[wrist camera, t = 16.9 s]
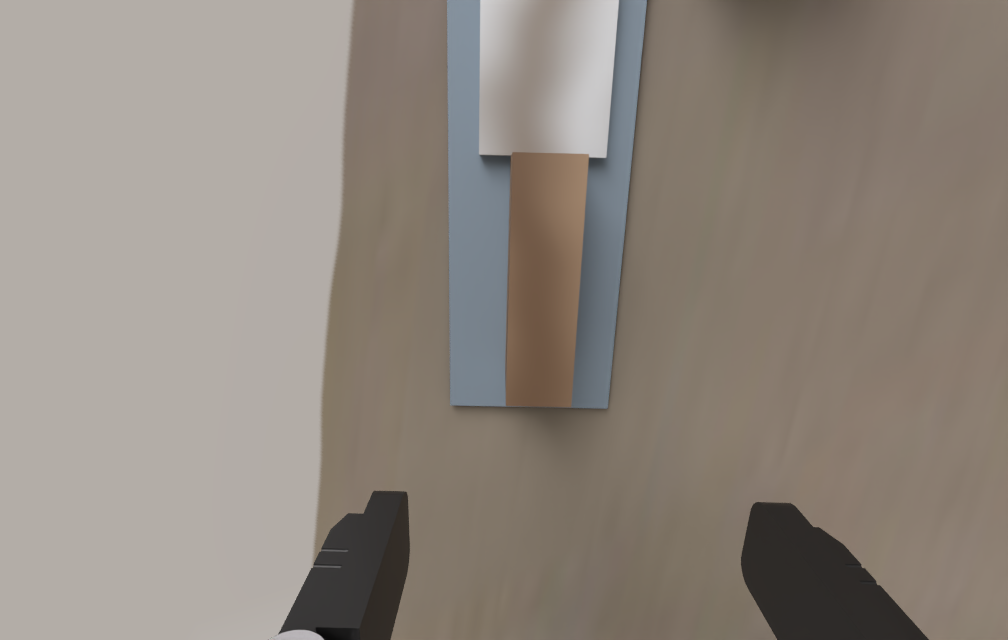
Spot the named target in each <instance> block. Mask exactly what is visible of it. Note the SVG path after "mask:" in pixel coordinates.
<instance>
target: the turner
mask: <svg viewBox="0 0 1008 640" xmlns="http://www.w3.org/2000/svg"><path fill="white" fill-rule="evenodd" d="M618 6H619V0H480V100H479V155H492V156H511V159H510V197H509V235H508V273H507V312H506V350H505V388H506V406H530V407H571V403H572V389H573V375H574V361H575V347H576V332H577V318H578V304H579V290H580V276H581V262H582V247H583V233H584V219H585V205H586V191H587V176H588V162H589V158H606V156H607V143H608V131H609V118H610V106H611V94H612V81H613V69H614V56H615V44H616V31H617V19H618Z"/></svg>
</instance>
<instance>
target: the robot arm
mask: <svg viewBox="0 0 1008 640" xmlns="http://www.w3.org/2000/svg"><path fill="white" fill-rule="evenodd" d="M409 553H410V541H409V514H408V496H407V492H401V491H374V492H373V493H372V495H371V498H370V500H369V502H368V505H367V507H366V509H365V512H364V514H351V513H348V514H347V515H346V516H345V517H344V518H343V519H342V520H340V521H339V522H338V523H337V524H336V525H335V526H334V527H333V528H332V529H331V530H330V532H329V534H328V536H327V538H326V540H325V542H324V544H323V546H322V549H321V552H319V554H318V556H317V558H316V560H315V562H314V566H313V568H311V570H310V572H309V574H308V576H307V578H306V580H305V582H304V584H303V586H302V588H301V590H300V592H299V594H298V596H297V598H296V600H295V603H294V605H293V607H292V608H291V611H290V613H289V615H288V616H287V619H286V620H285V623H284V625H283V627H282V629H281V631H280V632H279V634H278V635H276V636H274V637H272V638H270V639H268V640H390V639H391V635H392V631H393V627H394V623H395V619H396V615H397V612H398V608H399V604H400V600H401V596H402V592H403V588H404V584H405V580H406V576H407V571H408V564H409ZM741 567H742V573H743V577H744V580H745V583H746V585H747V587H748V589H749V591H750V593H751V594H752V596H753V598H754V600H755V601H756V603H757V605H758V607H759V608H760V610H761V612H762V614H763V615H764V617H765V619H766V620H767V622H768V624H769V626H770V627H771V629H772V631H773V633H774V634H775V636H776V638H777V640H929V639H928V638H927V637H926V636H925V635H924V634H923V633H922V632H921V630H920V629H919V628H918V627H917V626H916V625H915V624H914V623H913V622H912V620H911V619H910V618H909V617H908V616H907V615H906V614H905V613H904V612H903V610H902V609H901V608H900V607H899V606H898V605H897V604H896V603H895V601H894V600H893V599H892V598H891V597H890V596H889V595H888V594H887V593H886V591H885V590H884V589H883V588H882V587H881V586H880V585H877V584H876V580H875V579H874V578H873V577H872V576H871V575H870V574H869V573H868V571H867V570H866V569H865V568H862V567H861V564H860V563H859V561H858V560H857V559H856V558H855V557H854V556H853V555H852V554H851V552H850V551H849V550H848V549H847V548H846V547H845V546H844V545H843V544H842V543H840V542H839V541H838V540H836V539H835V538H833V537H832V536H830V535H829V534H828V533H826V532H825V531H823V530H822V529H820V528H819V527H813V526H812V525H811V524H810V523H809V522H808V520H807V519H806V518H805V517H804V516H803V515H802V513H801V512H800V511H799V510H798V509H797V508H796V507H795V506H794V505H793V504H791V503H766V502H756V503H755V504H753V506H752V508H751V511H750V516H749V521H748V526H747V531H746V536H745V541H744V546H743V551H742V556H741Z"/></svg>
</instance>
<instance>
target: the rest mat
mask: <svg viewBox="0 0 1008 640" xmlns="http://www.w3.org/2000/svg"><path fill="white" fill-rule="evenodd" d="M646 5H647V0H619V6H618V19H617V31H616V44H615V56H614V69H613V81H612V94H611V106H610V118H609V131H608V143H607V156H606V158H589V162H588V176H587V191H586V205H585V219H584V233H583V247H582V262H581V276H580V290H579V304H578V318H577V332H576V347H575V361H574V375H573V389H572V403H571V407H555V408H602V409H608V400H609V390H610V379H611V369H612V358H613V348H614V338H615V327H616V317H617V306H618V296H619V286H620V275H621V265H622V255H623V244H624V234H625V223H626V213H627V203H628V192H629V182H630V171H631V161H632V151H633V140H634V130H635V119H636V109H637V99H638V88H639V78H640V68H641V57H642V47H643V36H644V26H645V16H646ZM447 39H448V170H449V301H450V405H459V406H506V388H505V350H506V312H507V273H508V235H509V197H510V159H511V156H492V155H479V100H480V0H447ZM507 407H530V406H507Z"/></svg>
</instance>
